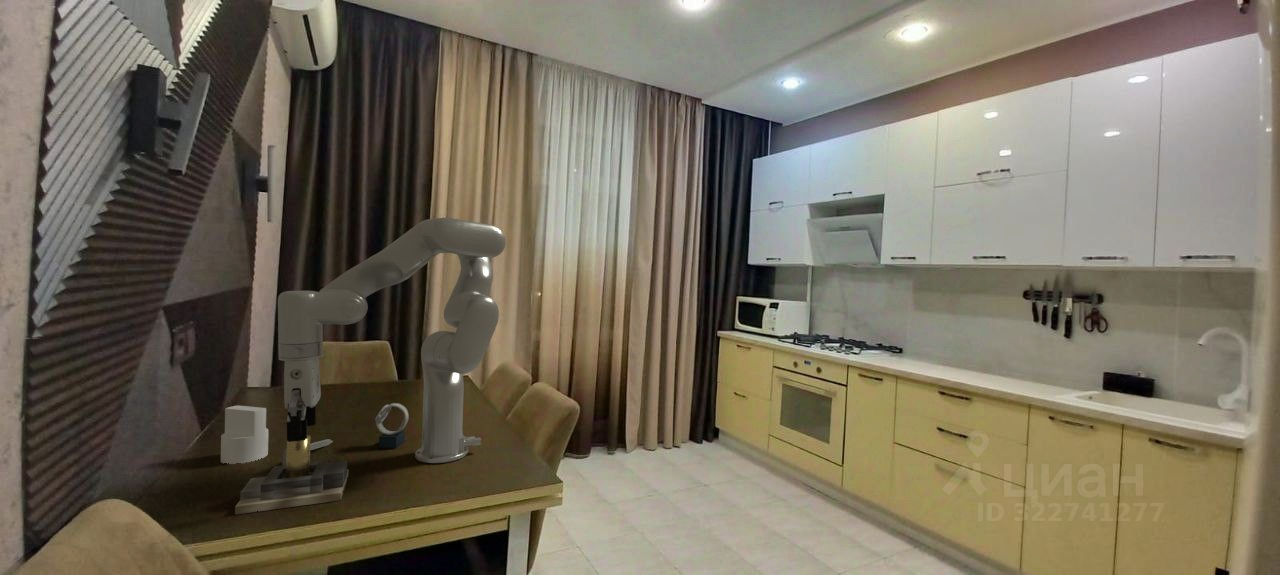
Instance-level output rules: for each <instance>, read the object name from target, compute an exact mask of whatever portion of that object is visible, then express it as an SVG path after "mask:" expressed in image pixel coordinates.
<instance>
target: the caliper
mask: <svg viewBox="0 0 1280 575" xmlns="http://www.w3.org/2000/svg"><path fill="white" fill-rule="evenodd" d="M333 442H334V441H333V440H331V439H328V438H327V439H323V440H320V441H315V442H312V443H311V442H310V451H314V450H317V449H320V448H324V447H328V446H329V445H330V444H331V443H333ZM286 457H287V444H286V446H285V448H284V450H283V455H282V465H286Z"/></svg>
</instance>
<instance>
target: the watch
mask: <svg viewBox="0 0 1280 575" xmlns="http://www.w3.org/2000/svg"><path fill="white" fill-rule="evenodd" d="M392 407H393V408H397V409H399V410H400V411H401V412H402V413H403V420H402V422H401V424H400V426H399V427H398V429H397V430H396V429H395V430H394V429H391V430H390V429H389V430H388V429H386V428H385V427H384V425H383V422H384V420H385V419H386V418H387V417H388V416H389V414H390V413H391V410H392ZM409 419H410V417H409V411H408V409H407V408H406V407H405V406H404V405H403V404H401V403H398V402H397V403H396V402H393V403H390V404H385V405H384V406H382V407H381V409H380V411H379V412H378V413H377V415H376V417H375V419H374V421H375V425H376V428H377V430H378V431H379V432H380V433H382V434H380V436H379V437H378V449H379V448H395V449H394V450H396V449H397V448H398V446H399V447H400V446H401V445H402V444H403V443H405V432H406V431H405V430H404V429H405V427H406V425H407V424H408V422H409Z"/></svg>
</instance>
